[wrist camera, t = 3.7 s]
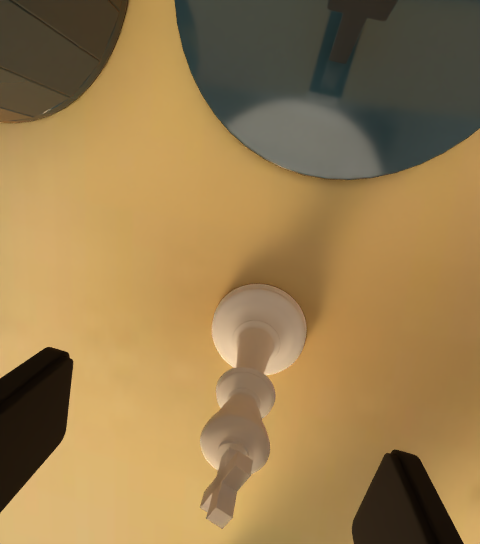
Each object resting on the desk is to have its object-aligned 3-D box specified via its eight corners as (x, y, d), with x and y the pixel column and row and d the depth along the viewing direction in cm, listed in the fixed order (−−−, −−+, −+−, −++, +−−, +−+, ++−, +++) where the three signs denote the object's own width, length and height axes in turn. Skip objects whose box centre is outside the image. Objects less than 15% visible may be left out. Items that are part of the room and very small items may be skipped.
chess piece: (326, 318, 16) (384, 513, 6) (271, 385, 17) (252, 629, 8) (244, 265, 16) (177, 380, 6) (196, 337, 17) (82, 522, 8)
